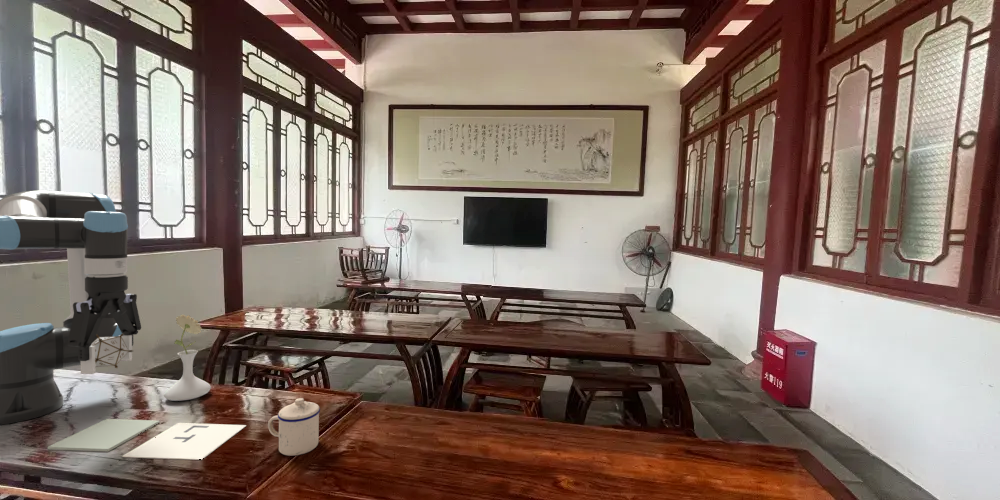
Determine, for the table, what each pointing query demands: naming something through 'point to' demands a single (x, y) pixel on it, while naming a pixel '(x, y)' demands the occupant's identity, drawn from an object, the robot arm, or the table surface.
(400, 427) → the table surface
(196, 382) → the flower in vase
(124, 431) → the sage mat
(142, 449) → the card
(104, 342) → the game die
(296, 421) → the teacup with lid
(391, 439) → the table surface
